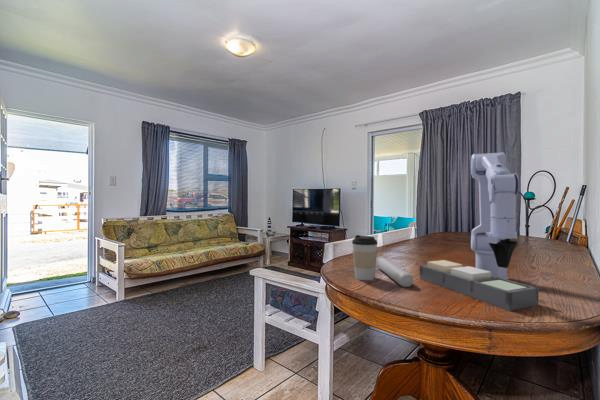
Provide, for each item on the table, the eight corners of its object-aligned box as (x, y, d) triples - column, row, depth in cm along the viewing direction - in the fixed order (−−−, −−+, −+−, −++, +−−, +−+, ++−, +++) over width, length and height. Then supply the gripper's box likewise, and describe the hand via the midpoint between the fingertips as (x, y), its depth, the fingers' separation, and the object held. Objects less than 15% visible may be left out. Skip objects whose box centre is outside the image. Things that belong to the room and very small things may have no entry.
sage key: (499, 287, 84) (499, 279, 84) (527, 296, 77) (527, 287, 77) (480, 290, 82) (480, 282, 82) (507, 299, 75) (507, 290, 75)
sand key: (444, 266, 103) (444, 260, 103) (462, 271, 96) (462, 264, 96) (427, 268, 101) (427, 261, 101) (444, 273, 94) (444, 266, 94)
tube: (418, 276, 91) (390, 258, 116) (403, 271, 91) (378, 254, 116) (413, 292, 91) (386, 271, 116) (397, 287, 91) (374, 267, 116)
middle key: (468, 273, 94) (468, 266, 94) (491, 279, 87) (491, 271, 87) (451, 275, 91) (451, 268, 91) (472, 282, 84) (472, 274, 84)
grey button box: (444, 275, 105) (444, 263, 105) (538, 305, 76) (538, 287, 76) (419, 278, 102) (419, 265, 102) (509, 310, 73) (509, 292, 72)
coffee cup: (382, 277, 104) (382, 235, 104) (369, 282, 97) (369, 238, 97) (360, 273, 110) (360, 233, 110) (347, 278, 103) (346, 236, 103)
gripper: (497, 216, 87) (497, 260, 87) (475, 218, 78) (475, 268, 79) (525, 217, 81) (525, 265, 81) (505, 219, 73) (505, 273, 73)
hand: (502, 267), depth 79 cm, fingers closed
